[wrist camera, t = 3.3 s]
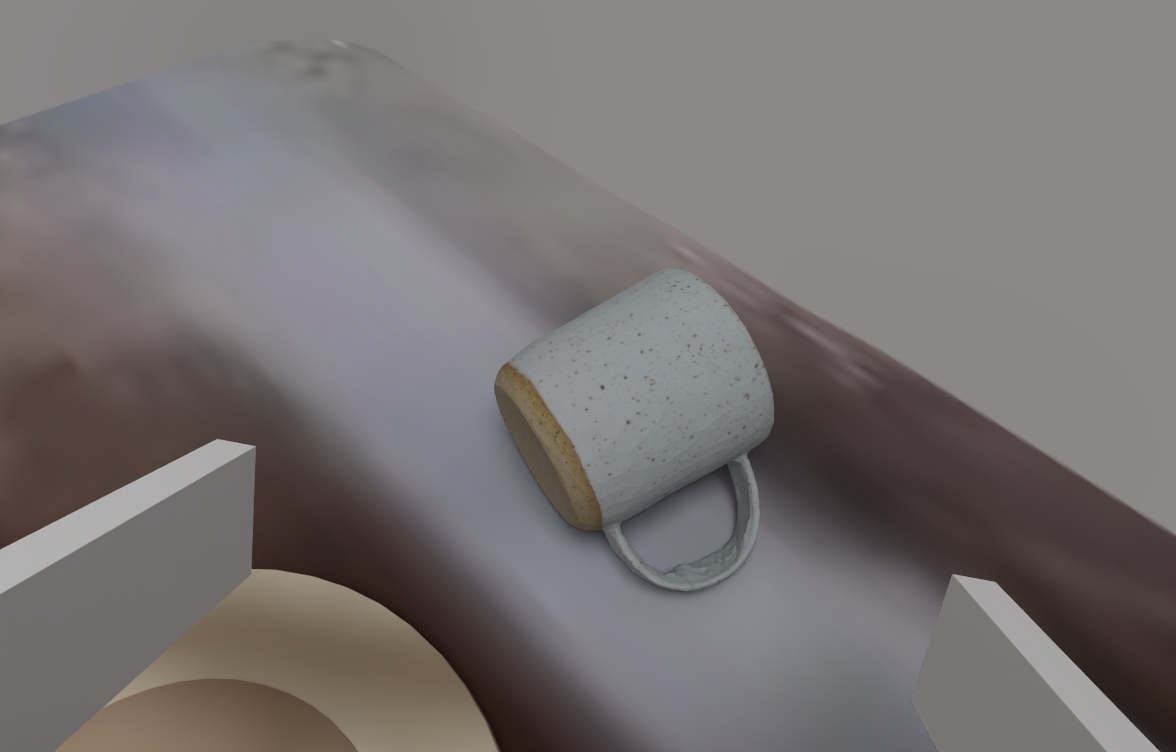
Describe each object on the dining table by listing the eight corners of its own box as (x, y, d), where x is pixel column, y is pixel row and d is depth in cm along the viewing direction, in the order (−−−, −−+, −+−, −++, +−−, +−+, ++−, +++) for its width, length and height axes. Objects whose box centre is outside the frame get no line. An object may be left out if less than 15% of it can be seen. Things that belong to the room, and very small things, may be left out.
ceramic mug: (488, 423, 28) (470, 321, 21) (642, 339, 30) (669, 224, 24) (632, 646, 24) (666, 607, 17) (797, 527, 26) (882, 452, 20)
